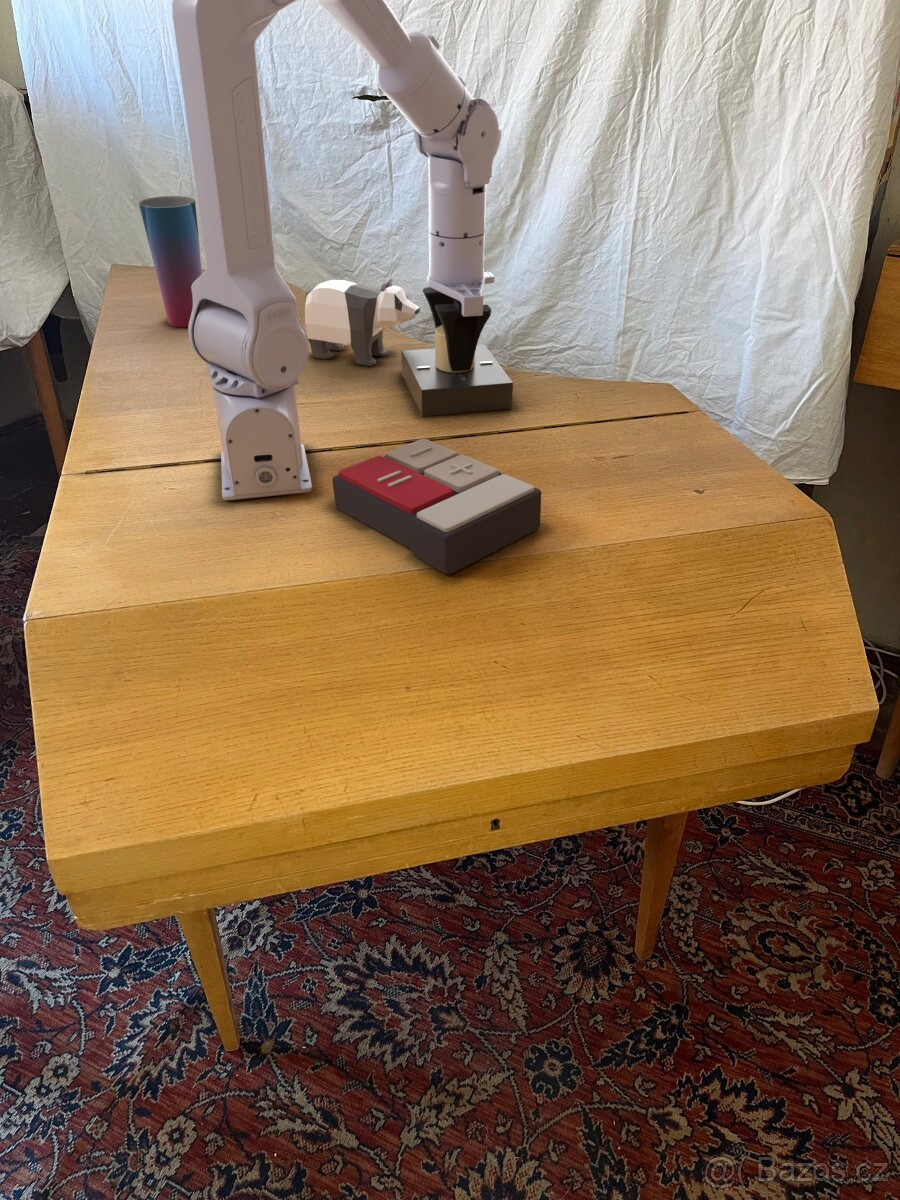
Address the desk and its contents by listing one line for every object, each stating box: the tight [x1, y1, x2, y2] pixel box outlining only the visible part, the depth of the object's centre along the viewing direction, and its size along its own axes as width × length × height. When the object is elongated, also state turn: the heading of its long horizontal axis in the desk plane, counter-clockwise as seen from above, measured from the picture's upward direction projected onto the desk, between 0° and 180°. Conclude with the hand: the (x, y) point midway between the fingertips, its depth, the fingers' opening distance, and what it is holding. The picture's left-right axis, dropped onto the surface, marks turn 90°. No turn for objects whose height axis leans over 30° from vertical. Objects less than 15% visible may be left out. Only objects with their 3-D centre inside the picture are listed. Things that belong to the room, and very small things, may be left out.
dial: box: [434, 325, 475, 373], centre depth 94 cm, size 4×4×4 cm
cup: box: [138, 195, 203, 328], centre depth 112 cm, size 7×7×15 cm
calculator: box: [331, 438, 542, 575], centre depth 73 cm, size 11×4×15 cm
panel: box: [401, 344, 514, 417], centre depth 96 cm, size 12×10×3 cm
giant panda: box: [304, 278, 421, 367], centre depth 103 cm, size 15×6×10 cm, turn 70°
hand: (455, 361), depth 95 cm, fingers closed on dial, 4 cm apart
